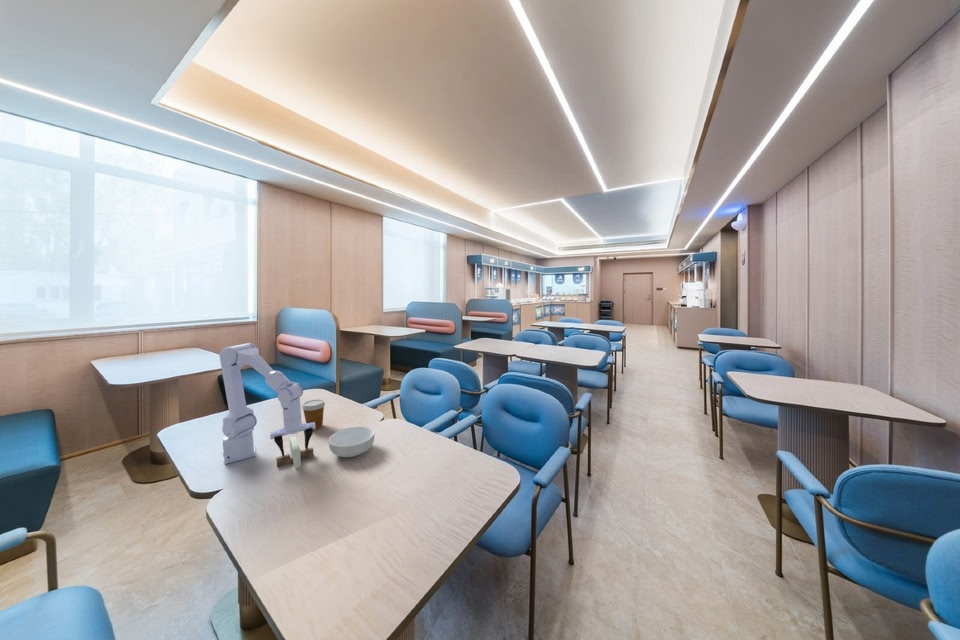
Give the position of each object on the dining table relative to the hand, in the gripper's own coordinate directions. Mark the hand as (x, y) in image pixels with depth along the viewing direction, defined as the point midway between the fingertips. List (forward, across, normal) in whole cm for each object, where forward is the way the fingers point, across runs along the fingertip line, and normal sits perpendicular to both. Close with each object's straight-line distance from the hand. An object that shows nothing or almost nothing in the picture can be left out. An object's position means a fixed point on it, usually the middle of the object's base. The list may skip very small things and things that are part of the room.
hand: (294, 451), depth 119 cm
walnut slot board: (+4, 0, 0) cm, 4 cm away
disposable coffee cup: (+4, +11, +27) cm, 29 cm away
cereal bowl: (+4, +19, -7) cm, 21 cm away
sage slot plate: (+4, 0, 0) cm, 4 cm away
